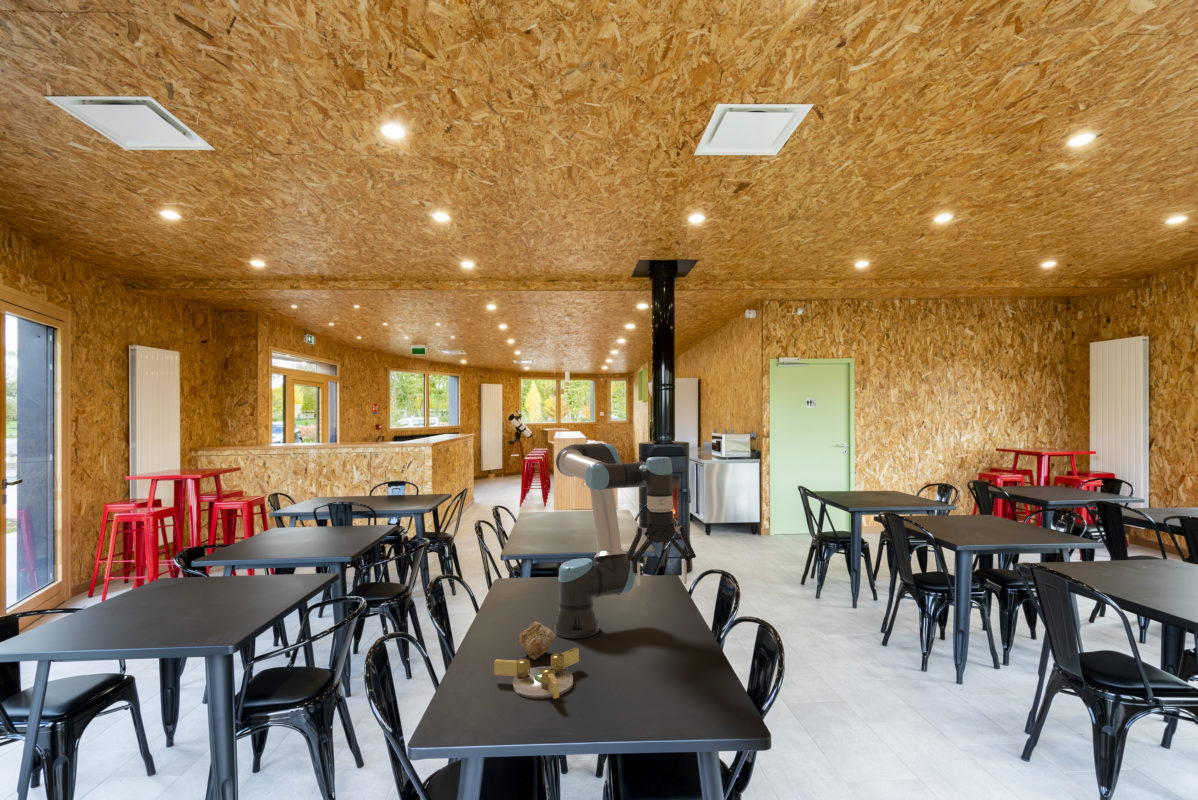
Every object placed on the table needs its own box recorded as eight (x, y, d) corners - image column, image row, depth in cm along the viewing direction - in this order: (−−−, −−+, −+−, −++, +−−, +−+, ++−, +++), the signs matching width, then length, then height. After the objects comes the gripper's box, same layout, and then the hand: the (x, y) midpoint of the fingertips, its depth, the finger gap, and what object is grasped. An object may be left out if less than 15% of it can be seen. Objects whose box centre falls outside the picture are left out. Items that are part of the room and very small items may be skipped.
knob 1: (531, 674, 157) (531, 659, 157) (527, 679, 153) (527, 664, 153) (497, 672, 158) (497, 657, 159) (492, 677, 155) (492, 662, 155)
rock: (559, 652, 177) (559, 619, 177) (546, 665, 167) (545, 630, 167) (524, 648, 180) (524, 615, 181) (509, 661, 171) (508, 626, 171)
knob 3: (557, 674, 156) (557, 659, 156) (548, 671, 158) (548, 656, 158) (581, 663, 163) (581, 649, 164) (572, 660, 166) (572, 646, 166)
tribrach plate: (500, 686, 153) (500, 674, 153) (543, 667, 165) (543, 656, 166) (542, 704, 143) (542, 691, 143) (585, 682, 155) (585, 670, 155)
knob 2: (539, 684, 150) (539, 668, 150) (553, 682, 151) (552, 666, 152) (549, 700, 141) (549, 684, 141) (563, 698, 142) (563, 681, 142)
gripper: (619, 513, 163) (620, 588, 162) (705, 510, 166) (707, 585, 165) (616, 509, 171) (617, 581, 170) (698, 507, 173) (700, 578, 172)
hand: (661, 583), depth 167 cm, fingers open, 13 cm apart
